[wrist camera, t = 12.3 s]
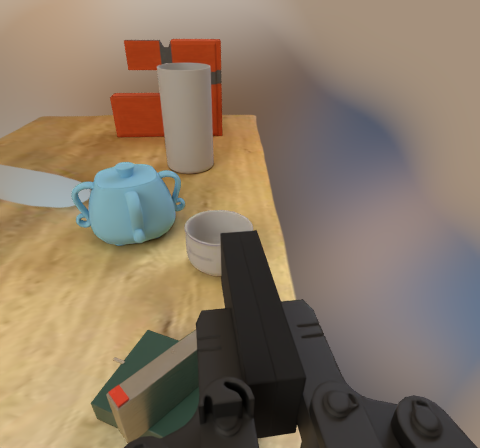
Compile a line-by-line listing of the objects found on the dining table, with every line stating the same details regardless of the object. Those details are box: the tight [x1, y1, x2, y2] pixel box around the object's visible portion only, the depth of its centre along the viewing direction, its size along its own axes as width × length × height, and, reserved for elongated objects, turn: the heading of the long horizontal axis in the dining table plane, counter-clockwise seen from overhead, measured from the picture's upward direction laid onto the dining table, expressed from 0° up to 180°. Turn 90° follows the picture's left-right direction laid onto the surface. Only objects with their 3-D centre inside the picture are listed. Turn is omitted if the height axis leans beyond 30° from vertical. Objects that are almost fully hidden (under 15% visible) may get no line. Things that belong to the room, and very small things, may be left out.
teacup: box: [185, 210, 253, 276], centre depth 54 cm, size 14×11×8 cm
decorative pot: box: [72, 162, 185, 246], centre depth 62 cm, size 16×16×14 cm
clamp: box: [110, 39, 222, 137], centre depth 109 cm, size 9×35×28 cm, turn 95°
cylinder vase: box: [157, 63, 214, 174], centre depth 86 cm, size 12×12×25 cm
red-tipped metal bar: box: [106, 330, 199, 443], centre depth 34 cm, size 14×2×6 cm, turn 135°
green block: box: [91, 330, 199, 439], centre depth 36 cm, size 18×18×3 cm
